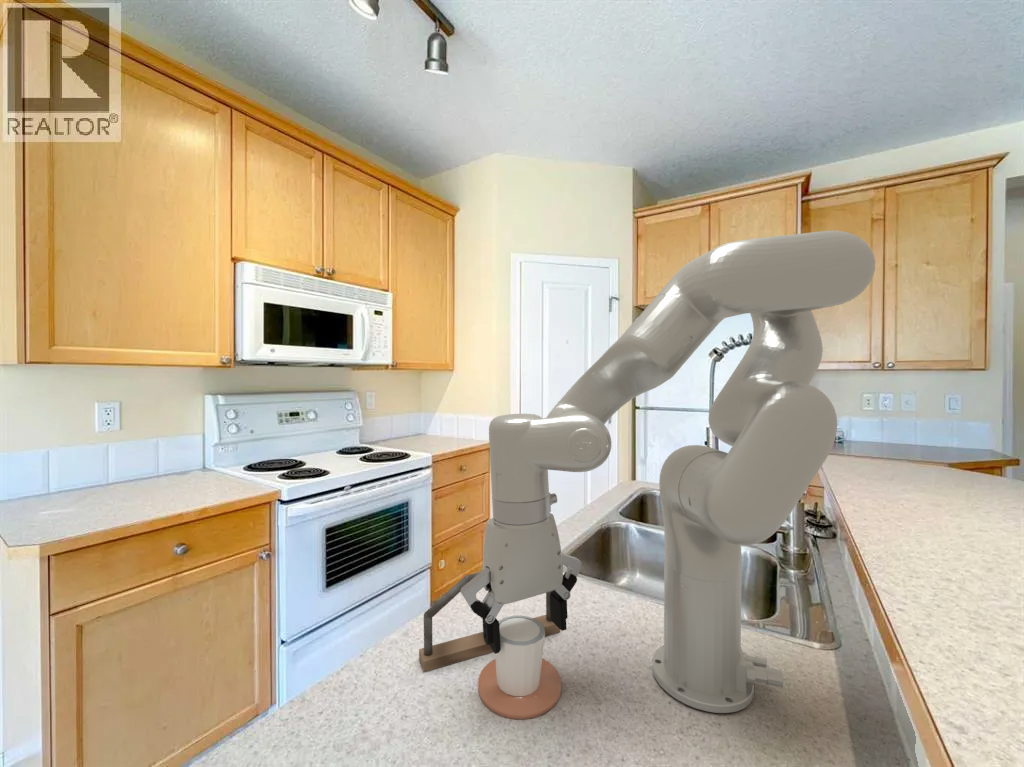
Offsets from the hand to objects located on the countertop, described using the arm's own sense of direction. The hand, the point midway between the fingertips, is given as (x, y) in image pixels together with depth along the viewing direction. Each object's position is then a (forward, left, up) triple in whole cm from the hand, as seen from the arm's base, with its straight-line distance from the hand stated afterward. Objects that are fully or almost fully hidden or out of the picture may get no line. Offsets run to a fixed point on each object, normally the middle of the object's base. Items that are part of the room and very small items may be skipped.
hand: (527, 635), depth 57 cm
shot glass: (+1, +1, -6) cm, 6 cm away
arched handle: (+7, -7, -7) cm, 12 cm away
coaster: (+1, 0, -7) cm, 7 cm away
